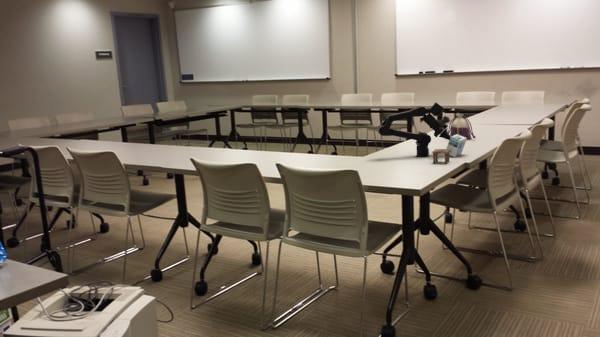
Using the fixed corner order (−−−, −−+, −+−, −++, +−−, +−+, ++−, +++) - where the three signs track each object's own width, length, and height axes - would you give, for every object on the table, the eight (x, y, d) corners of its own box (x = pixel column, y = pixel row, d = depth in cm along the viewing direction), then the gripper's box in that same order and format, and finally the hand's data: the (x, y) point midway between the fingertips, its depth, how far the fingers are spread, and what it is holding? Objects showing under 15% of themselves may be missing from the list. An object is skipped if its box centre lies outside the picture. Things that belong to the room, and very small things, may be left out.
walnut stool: (432, 163, 292) (432, 151, 291) (435, 161, 299) (435, 149, 298) (447, 164, 288) (447, 151, 287) (449, 161, 296) (449, 149, 294)
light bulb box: (454, 157, 306) (461, 140, 302) (444, 153, 309) (450, 136, 305) (461, 154, 314) (467, 137, 310) (451, 150, 318) (457, 133, 313)
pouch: (441, 139, 378) (441, 113, 374) (447, 137, 383) (447, 111, 380) (474, 141, 360) (473, 113, 356) (479, 139, 366) (479, 112, 362)
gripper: (438, 114, 302) (459, 132, 299) (444, 110, 318) (463, 128, 316) (425, 128, 306) (445, 146, 304) (431, 124, 323) (450, 141, 320)
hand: (451, 140), depth 311 cm, fingers closed
